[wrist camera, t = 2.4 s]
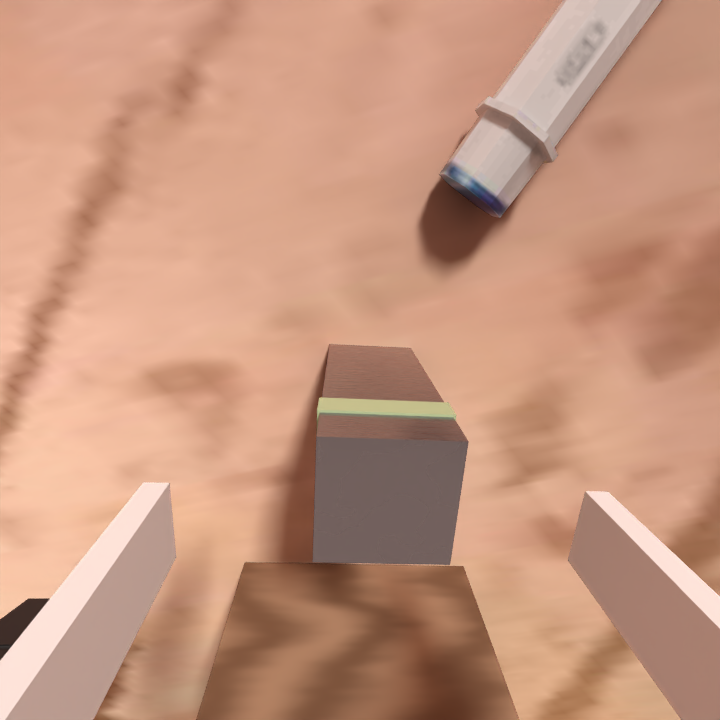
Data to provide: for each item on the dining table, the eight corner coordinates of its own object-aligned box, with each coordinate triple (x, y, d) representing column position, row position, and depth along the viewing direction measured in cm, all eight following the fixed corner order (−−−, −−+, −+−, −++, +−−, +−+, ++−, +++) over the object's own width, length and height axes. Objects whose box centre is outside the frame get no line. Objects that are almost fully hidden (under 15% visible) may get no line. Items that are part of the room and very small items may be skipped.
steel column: (412, 346, 25) (471, 438, 13) (404, 423, 26) (452, 566, 15) (327, 342, 24) (313, 433, 13) (325, 420, 26) (309, 564, 14)
